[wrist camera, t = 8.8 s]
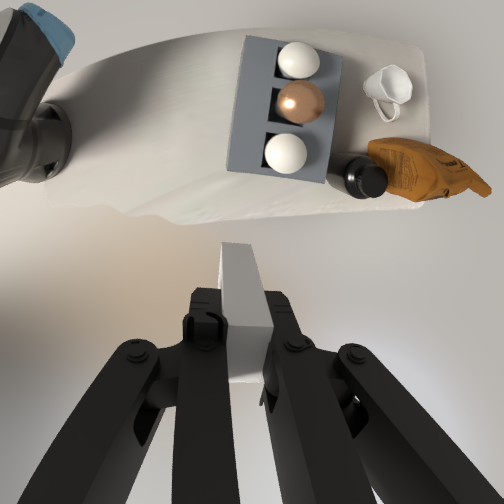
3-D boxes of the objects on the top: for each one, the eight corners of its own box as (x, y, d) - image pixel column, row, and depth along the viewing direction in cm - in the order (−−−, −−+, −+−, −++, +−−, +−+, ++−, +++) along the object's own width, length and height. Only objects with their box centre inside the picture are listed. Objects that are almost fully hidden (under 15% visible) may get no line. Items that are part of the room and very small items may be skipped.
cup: (384, 72, 38) (409, 66, 31) (392, 121, 42) (418, 122, 35) (352, 70, 38) (375, 62, 30) (362, 122, 42) (386, 122, 35)
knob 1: (266, 84, 36) (277, 72, 28) (270, 55, 34) (282, 38, 26) (299, 90, 37) (317, 81, 29) (303, 62, 35) (321, 47, 27)
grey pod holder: (225, 165, 43) (227, 171, 36) (241, 51, 35) (246, 35, 28) (308, 175, 45) (324, 183, 38) (323, 67, 37) (342, 56, 30)
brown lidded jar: (264, 122, 35) (276, 118, 27) (269, 88, 33) (282, 75, 25) (300, 128, 36) (321, 127, 28) (305, 95, 34) (327, 85, 26)
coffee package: (412, 188, 48) (491, 224, 28) (362, 186, 47) (442, 225, 27) (415, 141, 44) (500, 158, 24) (364, 133, 43) (451, 143, 23)
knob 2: (255, 164, 41) (263, 170, 33) (259, 131, 39) (269, 130, 31) (288, 168, 42) (303, 176, 34) (292, 136, 40) (309, 137, 32)
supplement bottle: (362, 179, 46) (399, 194, 35) (332, 195, 47) (363, 214, 36) (349, 145, 44) (385, 151, 33) (317, 161, 44) (346, 170, 33)
